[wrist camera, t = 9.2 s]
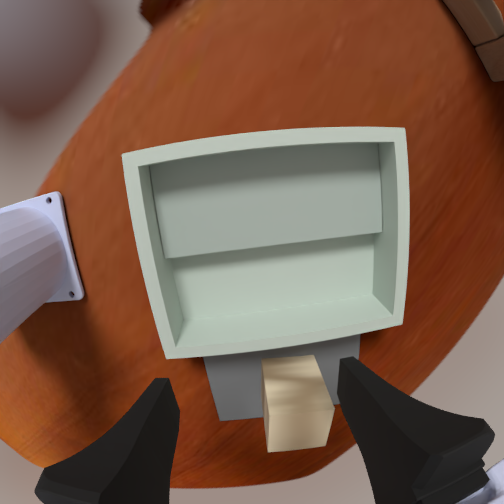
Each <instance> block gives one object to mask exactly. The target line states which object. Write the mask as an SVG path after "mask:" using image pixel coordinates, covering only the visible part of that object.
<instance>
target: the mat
mask: <svg viewBox="0 0 504 504" xmlns="http://www.w3.org/2000/svg"><path fill="white" fill-rule="evenodd" d="M359 346H360V334H356V335H351V336H346V337H341V338H336V339H331V340H325V341H319V342H314V343H308V344H302V345H295V346H289V347H282V348H275V349H267V350H260V351H252V352H243V353H234V354H224V355H214V356H203V359H204V363H205V367H206V371H207V375H208V379H209V383H210V386H211V390H212V394H213V398H214V401H215V405H216V408H217V412H218V415H219V419H220V421H226V420H238V419H249V418H258V417H263V409H262V400H261V358H280V357H294V356H306V355H314V357H315V359H316V362H317V364H318V367H319V369H320V372H321V375H322V377H323V380H324V382H325V385H326V387H327V390H328V393H329V395H330V398H331V400H332V403H333V405H336V404H340V402H339V399H338V395H337V386H338V374H339V362H340V359H341V358H346V357H351V356H354V357H355V358H356V359H357V360H358V358H359Z"/></svg>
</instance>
